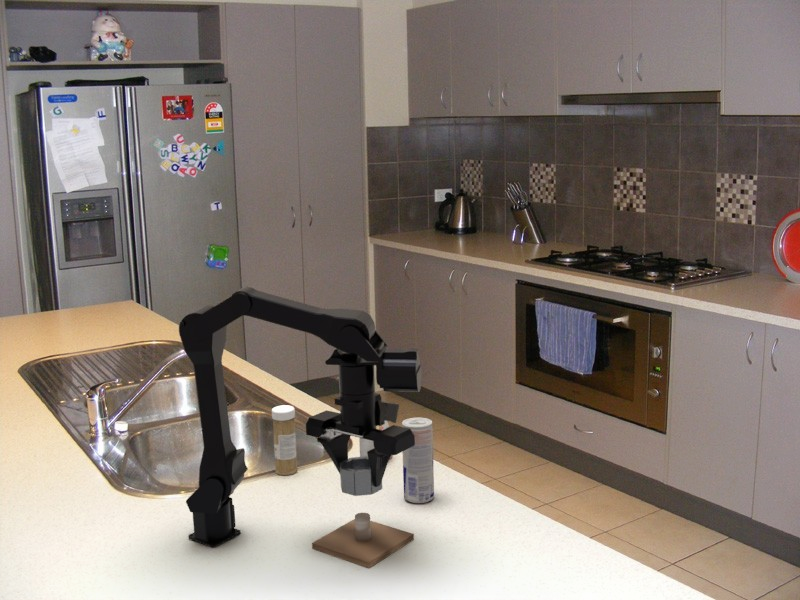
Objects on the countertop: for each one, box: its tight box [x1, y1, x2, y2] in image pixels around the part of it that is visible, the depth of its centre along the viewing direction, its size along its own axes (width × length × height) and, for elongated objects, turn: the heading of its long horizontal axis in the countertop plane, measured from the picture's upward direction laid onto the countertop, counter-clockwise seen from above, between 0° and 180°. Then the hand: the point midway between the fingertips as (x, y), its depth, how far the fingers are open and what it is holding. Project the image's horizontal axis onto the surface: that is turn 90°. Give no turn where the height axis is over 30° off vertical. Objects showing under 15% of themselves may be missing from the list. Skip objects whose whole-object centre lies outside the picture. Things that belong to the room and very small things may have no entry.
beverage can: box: [401, 417, 435, 504], centre depth 168 cm, size 6×6×15 cm
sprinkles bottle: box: [271, 404, 298, 476], centre depth 183 cm, size 5×5×13 cm
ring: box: [339, 456, 383, 497], centre depth 150 cm, size 7×7×4 cm
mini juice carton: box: [358, 421, 393, 461], centre depth 187 cm, size 4×7×10 cm, turn 152°
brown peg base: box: [311, 512, 415, 569], centre depth 152 cm, size 12×12×5 cm
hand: (360, 481), depth 150 cm, fingers closed on ring, 7 cm apart
